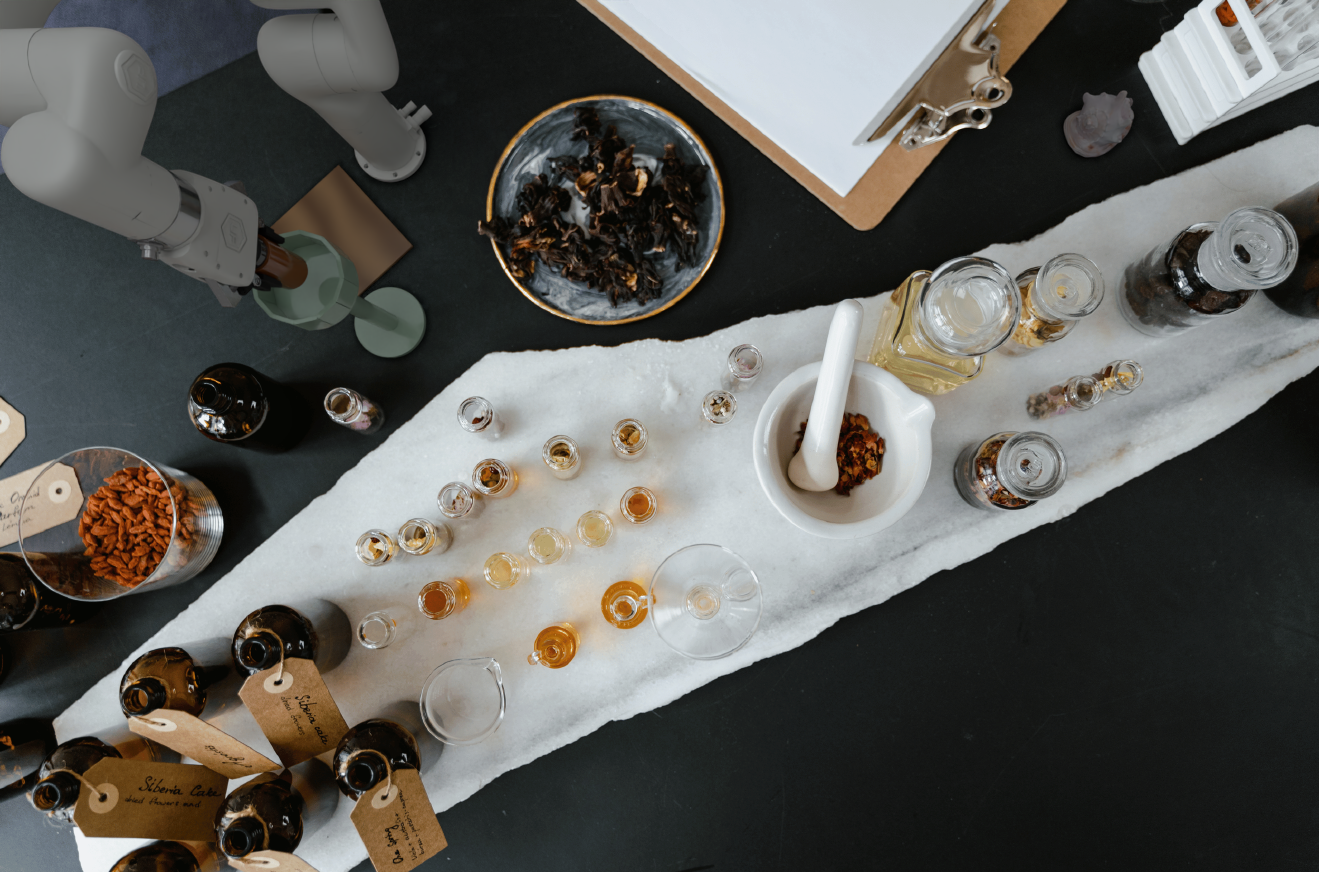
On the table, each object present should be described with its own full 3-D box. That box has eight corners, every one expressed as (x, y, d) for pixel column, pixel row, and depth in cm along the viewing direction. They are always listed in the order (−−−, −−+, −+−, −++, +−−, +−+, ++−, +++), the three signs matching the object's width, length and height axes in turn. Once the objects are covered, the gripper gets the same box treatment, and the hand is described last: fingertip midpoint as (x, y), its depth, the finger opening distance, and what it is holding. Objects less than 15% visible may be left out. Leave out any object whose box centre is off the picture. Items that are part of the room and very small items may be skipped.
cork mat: (340, 166, 118) (338, 164, 118) (413, 246, 117) (412, 245, 117) (257, 241, 118) (255, 240, 118) (330, 323, 117) (328, 322, 117)
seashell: (1050, 116, 115) (1083, 85, 106) (1112, 84, 115) (1150, 51, 105) (1078, 167, 114) (1114, 140, 105) (1141, 135, 114) (1182, 106, 105)
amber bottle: (291, 245, 87) (245, 220, 77) (315, 272, 86) (272, 250, 77) (264, 270, 87) (215, 248, 77) (288, 297, 86) (242, 278, 77)
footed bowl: (394, 274, 117) (300, 211, 88) (440, 324, 117) (361, 279, 88) (342, 321, 117) (232, 274, 88) (388, 372, 117) (292, 342, 88)
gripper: (189, 295, 64) (297, 331, 82) (200, 123, 65) (305, 196, 83) (114, 293, 64) (238, 329, 83) (125, 121, 65) (247, 194, 83)
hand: (271, 262), depth 83 cm, fingers closed on amber bottle, 4 cm apart
